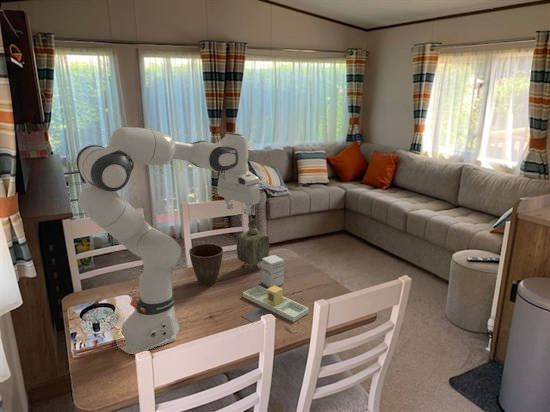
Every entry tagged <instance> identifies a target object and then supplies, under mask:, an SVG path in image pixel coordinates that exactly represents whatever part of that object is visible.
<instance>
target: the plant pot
mask: <svg viewBox="0 0 550 412" xmlns="http://www.w3.org/2000/svg"><path fill="white" fill-rule="evenodd" d="M223 254H224V248H223V247H222V246H221V245H217V244H213V243H203V244H197V245H195V246H192V247H191V248H190V249H189V257H190V262H191V266H192V268H193V272H194V275H195V277H196V279H197V281H198V283H199V285H201V286H203V287H210V286H213V285H215V284H216V281H217V279H218V276H219V274H220V269H221V265H222V261H223Z"/></svg>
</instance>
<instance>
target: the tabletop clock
mask: <svg viewBox="0 0 550 412" xmlns="http://www.w3.org/2000/svg"><path fill="white" fill-rule="evenodd" d="M253 221H257V223H256V224H252V226H249V225H250V223H252V222H253ZM259 223H260V222H259V220H258V219H257V218H253V219H250V220H249V221H248V223H247V228H249V229H248V230H247V231H245V232H243V233H241V234H239V235H238V236H237V240H236V256H237V260H238V261H240V262H243V264H242V265H241V266H240V269H241V270H243V269H244V268H245V267H244V266H245V265H246V264H247V265H254V264H255V269H259V265H258V263H262V258H265V257H268V256H270V237H269V236H268V233H266V232H263V231H260V230H258V228H257V226H258V225H259Z"/></svg>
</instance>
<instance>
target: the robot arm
mask: <svg viewBox="0 0 550 412" xmlns="http://www.w3.org/2000/svg"><path fill="white" fill-rule="evenodd" d="M173 159H174V160H179V161H186V162H189V163H191V164H192V165H194V166H195V167H197V168H202V169H205V170H208V171H209V170H210V171H213V172H217V173H219V172H220V174H219V175H218V179H217V186H216V187H217V188H216V189H217V195H218V196H219V197H222V198H224V202H225V204H226V209H228V210H232V209H233V208H234V207H233V206H234V205H233V204H232V202H231V200H232V201H235V202H236V201H237V202H239V203H243V204H244V205H245V208H244V209H243V214H245V215H249V214H250V213H251V212H250V211H251V210H250V209H251V208H252V206H254V205H257V204H259V202H260V199H261V196H260V194H261V193H260V192H261V190H260V186H259V184H258V183H260V178H259V177H258V176H257V175H255V174H254V173H252V172H251V171H250V169H249V164H248V159H249V145H248V140H247V137H246V136H245V135H243V134H241V133H235V132H227V133H225V135H224V137H222V138H221V139H220V140H219V141H216V142H215V143H213V142H209V141H206V140H197V141H194V142H190V143H189V142H183V141H177V140H174V139H173V138H172V136H171V135H169V134H167V133H164V132H162V131H159V130H156V129H155V130H154V129H149V128H145V127H133V126H132V127H131V126H129V127H128V126H124V127H123V126H122V127H118V128H117V129H115V130H114V131H113V132H112V134H111V137H110V143H109V144H108V145H107V146H106V147H105V146H102V145H96V144H92V145H88V146H85V147H83V148H82V149H80V150H79V152H78V154H77V156H76V159H75V160H76V162H75V163H76V168H77V171H78V174H79V176H80V181H81V182H83V183H84V184H85V187H84V188H83V189H82V190H81V192H80V194H79V195H78V201H77V203H78V206H79V207H80V209H81V210H82V211H83V212H84V214H85V215H87V217H88V218H89V219H90V220H91V221H93V222H94V223H95V224H96V225H97V226H98V227H100V228H101V229H103V230H104V231H105V232H106V233H108V234H109V235H110V236H112V237H113V238H114V239H115V240H117V241H118V242H119V243H120V244H121V245H122V246H123V247H125V248H126V249H127V250H128V251H129V252H130V253H132V254H133V255H135V256H136V257H138V258H139V259H141V260H142V262H143V271H142V273H141V274H140V275H139V277H138V286H139V288H138V289H139V297H138V301H136V300H135V299H133V300H131V301H130V306H131V307H132V308H136V309H135V310H134V311H133V312H132V313H131V314H130V316H129V317H128V318H126V319H125V321H124V322H123V323H122V325H121V333H122V335H123V336H124V337H125V343H126V346H123V347H120V348H121V349H122V350H124V351H125V352H128V353H135V354H136V351H137V353H138V352H142V351H146V350H149V349H152V348H154V347H157V346H160V345H162V346H164V344H165V345H168V344H170V343H172V342H175V341H176V340H177V335H178V333H179V331H180V325H179V322H178V319H177V315H176V312H175V296H174V292H173V280H172V276H173V275H172V274H173V268H174V266H176V265H177V264H178V263H179V262H180V259H181V257H182V248H181V246H180V244H179V243H178V242H177V241H176V240H175V239H174V238H173V237H171V236H170V235H168V234H166V233H164V232H162V231H160V230H158V229H157V228H154V227H153V226H151V224H149V222H148V221H146V220H145V218H144V216H143V214H142V213H140V212H139V211H138V210H137V209H136V208H135V207H134V206H133V205H132V204H130V203H129V202H128V201H127V200H125V198H123V197H122V196H121V194H119V193H118V192H117V191H121V190H122V189H123V188H124V187H125V186H126V185H127V184H128V182H129V181H130V178H131V174H132V171H133V169H134V166H135V164H140V165H149V166H163V165H167V164H169V162H171V160H173ZM224 172H225V173H224ZM121 333H120V334H121ZM167 343H168V344H167ZM160 347H161V346H160ZM157 348H158V347H157ZM154 349H155V348H154ZM129 350H132V351H129ZM152 350H153V349H152ZM149 351H150V350H149Z"/></svg>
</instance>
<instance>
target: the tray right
mask: <svg viewBox="0 0 550 412" xmlns="http://www.w3.org/2000/svg"><path fill="white" fill-rule="evenodd" d="M309 313H310V308H309V307H308V306H306V305H303V304H302V303H298V302H297V301H294V300H292V299H290V301H288V302H287V303H285V304H283V305H282V306H280V307H278V308H276V313H275V314H277V315H278V316H281V317H282V318H284V319H287V320H288V321H290V322H293V323H296V322H297V321H298V320H300V319H302V318H303V317H305V316H306V315H307V314H309Z"/></svg>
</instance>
